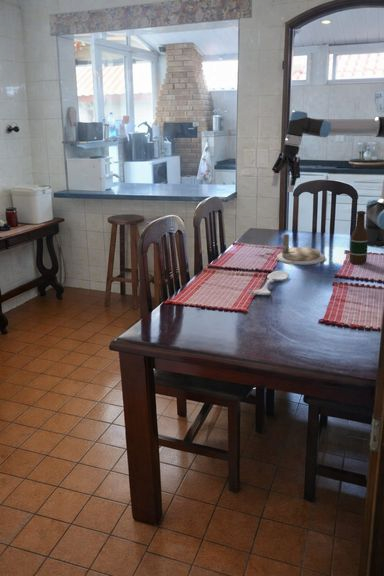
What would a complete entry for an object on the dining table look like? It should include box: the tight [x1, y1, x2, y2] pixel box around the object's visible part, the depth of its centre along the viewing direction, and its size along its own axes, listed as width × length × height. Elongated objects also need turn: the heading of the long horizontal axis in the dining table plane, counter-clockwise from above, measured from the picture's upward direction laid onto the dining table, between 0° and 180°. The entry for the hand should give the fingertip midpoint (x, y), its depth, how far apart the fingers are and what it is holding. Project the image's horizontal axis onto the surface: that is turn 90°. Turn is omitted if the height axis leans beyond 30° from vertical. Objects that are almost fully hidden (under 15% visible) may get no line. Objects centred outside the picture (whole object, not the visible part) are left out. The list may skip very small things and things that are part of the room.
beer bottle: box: [349, 210, 369, 265], centre depth 237 cm, size 8×8×24 cm
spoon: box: [247, 270, 290, 296], centre depth 212 cm, size 9×32×4 cm, turn 154°
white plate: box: [276, 252, 326, 266], centre depth 251 cm, size 23×23×1 cm
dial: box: [281, 233, 321, 261], centre depth 249 cm, size 18×18×11 cm
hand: (281, 189), depth 252 cm, fingers open, 13 cm apart
